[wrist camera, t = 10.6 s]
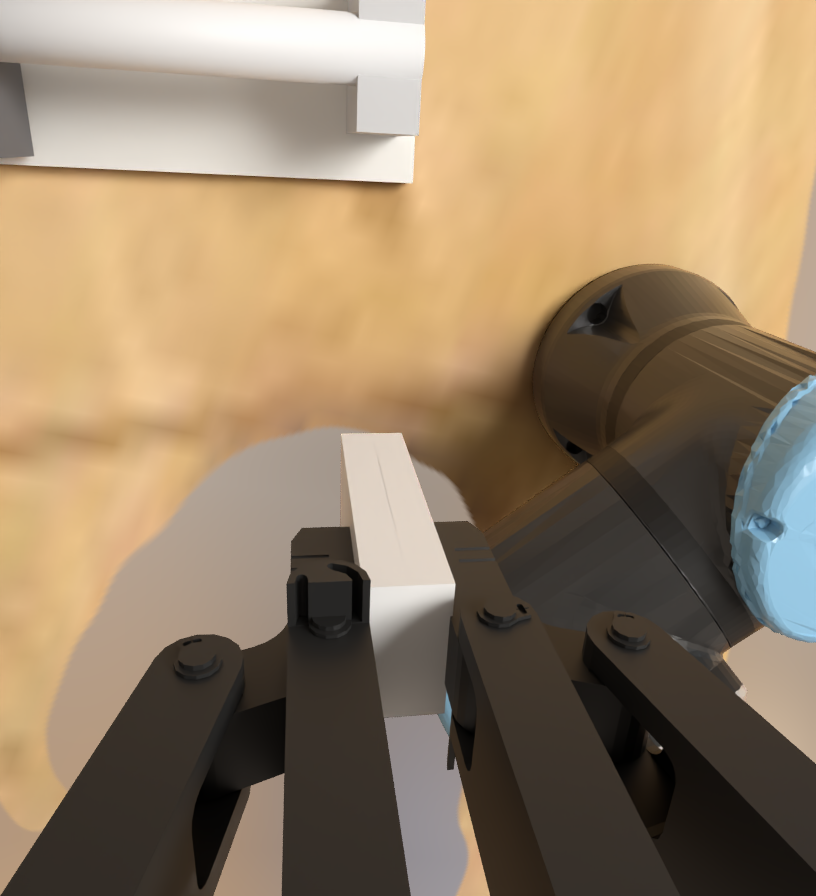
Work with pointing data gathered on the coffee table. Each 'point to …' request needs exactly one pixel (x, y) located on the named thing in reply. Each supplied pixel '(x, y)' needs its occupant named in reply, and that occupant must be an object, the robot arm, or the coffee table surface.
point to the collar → (13, 114)
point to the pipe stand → (221, 85)
